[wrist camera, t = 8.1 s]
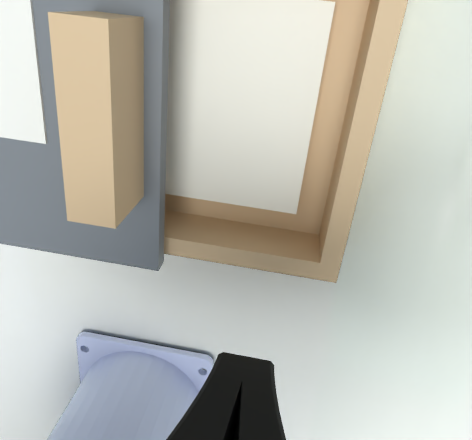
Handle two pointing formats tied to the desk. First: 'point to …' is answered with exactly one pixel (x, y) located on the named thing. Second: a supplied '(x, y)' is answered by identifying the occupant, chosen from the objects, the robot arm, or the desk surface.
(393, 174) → the desk surface
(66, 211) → the lid
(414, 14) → the desk surface
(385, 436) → the desk surface
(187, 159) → the kraft box
